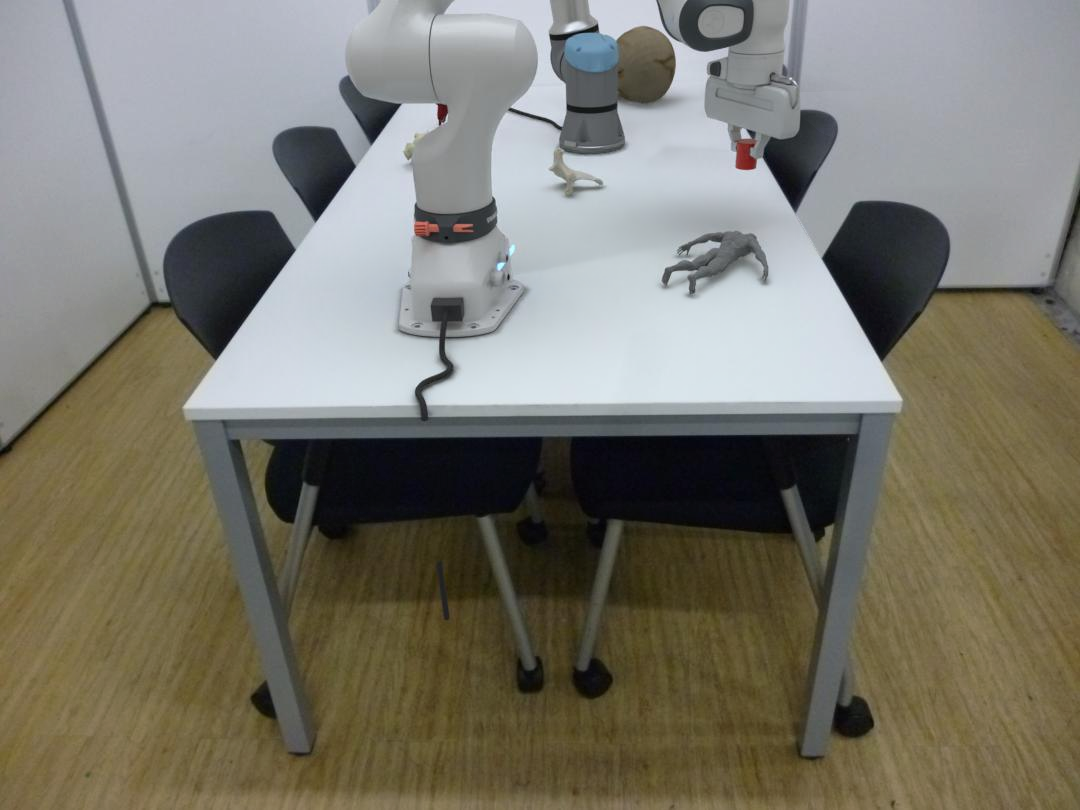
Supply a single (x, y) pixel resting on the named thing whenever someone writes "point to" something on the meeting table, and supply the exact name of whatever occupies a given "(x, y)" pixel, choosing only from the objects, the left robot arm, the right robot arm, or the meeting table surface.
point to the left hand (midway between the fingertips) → (746, 154)
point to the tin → (745, 154)
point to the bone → (569, 172)
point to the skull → (645, 64)
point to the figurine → (717, 256)
